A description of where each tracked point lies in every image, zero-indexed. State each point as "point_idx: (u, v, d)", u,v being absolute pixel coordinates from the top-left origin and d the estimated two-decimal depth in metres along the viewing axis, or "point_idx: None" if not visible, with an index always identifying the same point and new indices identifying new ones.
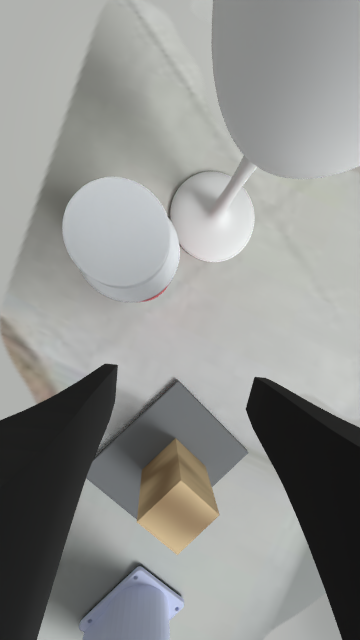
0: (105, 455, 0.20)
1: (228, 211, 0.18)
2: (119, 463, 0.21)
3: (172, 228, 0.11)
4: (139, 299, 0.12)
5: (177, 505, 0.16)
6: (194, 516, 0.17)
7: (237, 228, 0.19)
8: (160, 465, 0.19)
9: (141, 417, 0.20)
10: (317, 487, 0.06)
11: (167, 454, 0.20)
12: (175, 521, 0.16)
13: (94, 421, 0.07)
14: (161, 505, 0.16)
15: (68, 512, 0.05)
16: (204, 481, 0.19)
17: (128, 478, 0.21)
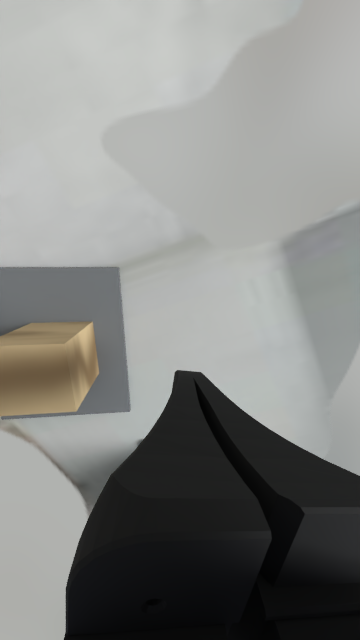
0: None
1: None
2: None
3: None
4: None
5: (10, 372, 0.12)
6: (41, 367, 0.12)
7: None
8: None
9: None
10: None
11: None
12: (30, 387, 0.12)
13: None
14: None
15: None
16: (64, 331, 0.14)
17: None
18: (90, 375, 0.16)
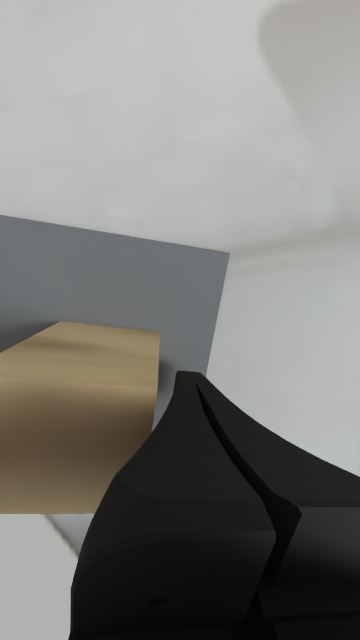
0: None
1: None
2: None
3: None
4: None
5: (28, 434, 0.06)
6: (97, 429, 0.06)
7: None
8: None
9: None
10: None
11: None
12: (62, 465, 0.06)
13: None
14: None
15: None
16: (130, 349, 0.08)
17: None
18: None
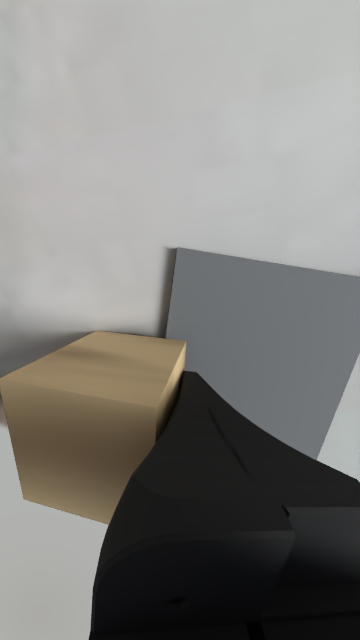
0: None
1: None
2: None
3: None
4: None
5: (48, 436, 0.06)
6: (102, 442, 0.06)
7: None
8: None
9: None
10: None
11: None
12: (77, 470, 0.06)
13: None
14: (24, 451, 0.06)
15: None
16: (147, 360, 0.08)
17: None
18: None
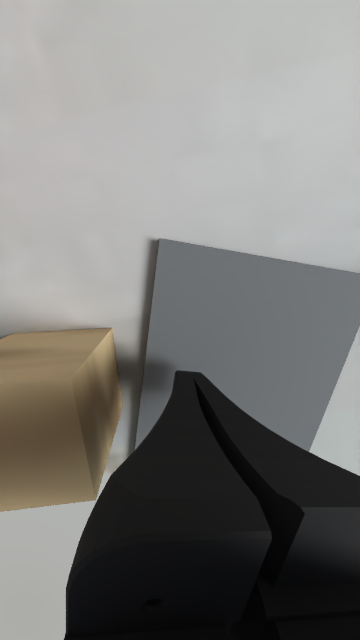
0: (144, 429, 0.12)
1: None
2: None
3: None
4: None
5: None
6: (25, 426, 0.06)
7: None
8: None
9: (150, 345, 0.10)
10: None
11: None
12: (4, 464, 0.06)
13: None
14: None
15: None
16: (68, 347, 0.08)
17: None
18: (113, 416, 0.10)
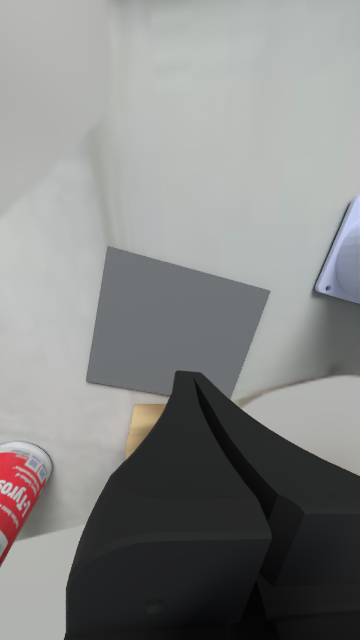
0: None
1: None
2: None
3: None
4: None
5: None
6: None
7: None
8: None
9: (144, 389, 0.18)
10: None
11: None
12: None
13: None
14: None
15: None
16: None
17: (213, 364, 0.18)
18: None
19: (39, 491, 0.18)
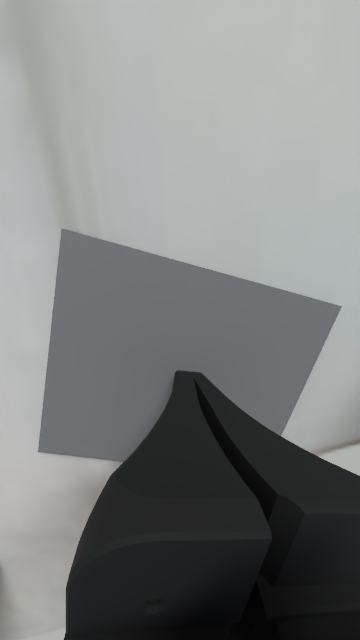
0: None
1: None
2: None
3: None
4: None
5: None
6: None
7: None
8: None
9: None
10: None
11: None
12: None
13: None
14: None
15: None
16: None
17: None
18: None
19: None
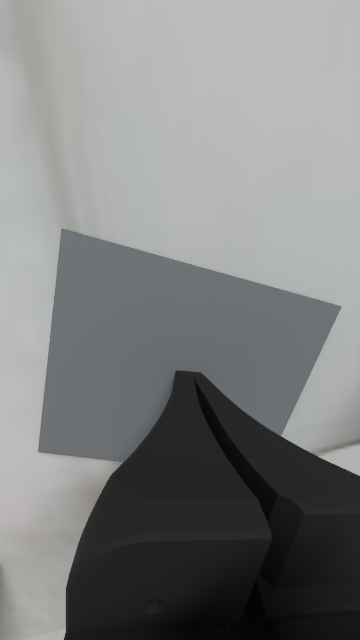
0: None
1: None
2: None
3: None
4: None
5: None
6: None
7: None
8: None
9: None
10: None
11: None
12: None
13: None
14: None
15: None
16: None
17: None
18: None
19: None
